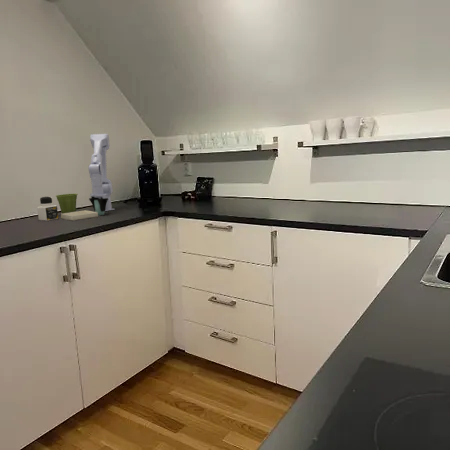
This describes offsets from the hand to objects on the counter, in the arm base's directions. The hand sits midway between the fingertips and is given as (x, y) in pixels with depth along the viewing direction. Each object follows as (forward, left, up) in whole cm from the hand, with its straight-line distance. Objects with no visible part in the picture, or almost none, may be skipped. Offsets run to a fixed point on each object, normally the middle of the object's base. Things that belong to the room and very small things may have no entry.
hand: (99, 210), depth 244 cm
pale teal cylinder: (0, 0, -2) cm, 2 cm away
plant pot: (-17, -10, -2) cm, 20 cm away
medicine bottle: (-11, -24, -2) cm, 26 cm away
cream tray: (0, -12, -2) cm, 12 cm away
